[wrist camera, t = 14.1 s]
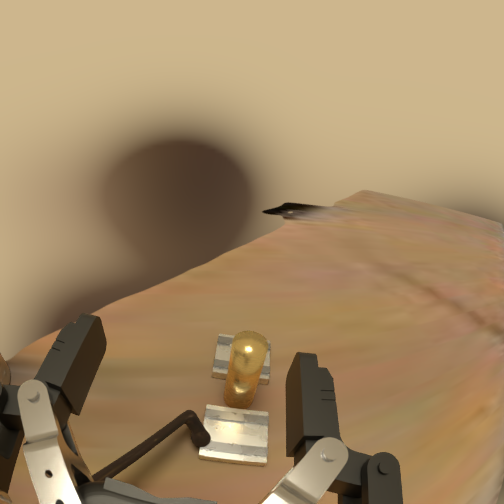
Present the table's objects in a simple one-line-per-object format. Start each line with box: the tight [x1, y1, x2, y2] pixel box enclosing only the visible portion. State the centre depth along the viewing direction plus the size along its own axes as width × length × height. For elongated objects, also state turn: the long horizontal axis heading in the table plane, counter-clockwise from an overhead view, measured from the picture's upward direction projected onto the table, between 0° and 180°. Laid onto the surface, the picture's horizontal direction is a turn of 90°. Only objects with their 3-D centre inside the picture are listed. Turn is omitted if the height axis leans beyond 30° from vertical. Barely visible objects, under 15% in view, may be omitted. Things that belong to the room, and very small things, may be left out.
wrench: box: [92, 410, 211, 481], centre depth 20 cm, size 5×5×30 cm
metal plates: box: [199, 334, 270, 466], centre depth 39 cm, size 8×20×2 cm, turn 177°
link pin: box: [224, 331, 268, 409], centre depth 37 cm, size 4×4×12 cm
